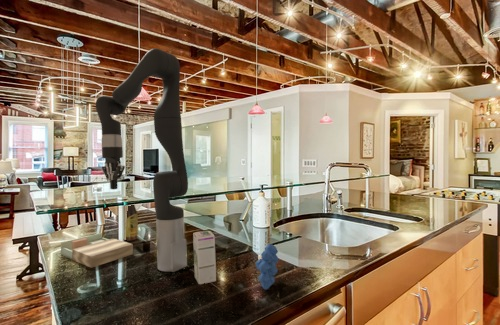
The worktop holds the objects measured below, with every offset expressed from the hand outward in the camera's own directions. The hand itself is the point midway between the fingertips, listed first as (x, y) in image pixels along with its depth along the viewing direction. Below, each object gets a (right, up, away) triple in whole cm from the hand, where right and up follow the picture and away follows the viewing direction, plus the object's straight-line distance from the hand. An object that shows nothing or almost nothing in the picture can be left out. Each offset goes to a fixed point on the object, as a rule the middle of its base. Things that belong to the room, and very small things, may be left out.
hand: (113, 189), depth 115 cm
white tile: (-9, -23, +5) cm, 25 cm away
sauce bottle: (0, -25, +17) cm, 30 cm away
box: (-11, -26, +2) cm, 28 cm away
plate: (-1, -26, -5) cm, 26 cm away
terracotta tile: (-12, -23, -2) cm, 26 cm away
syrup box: (+41, -26, -27) cm, 55 cm away
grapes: (+60, -26, -31) cm, 72 cm away
